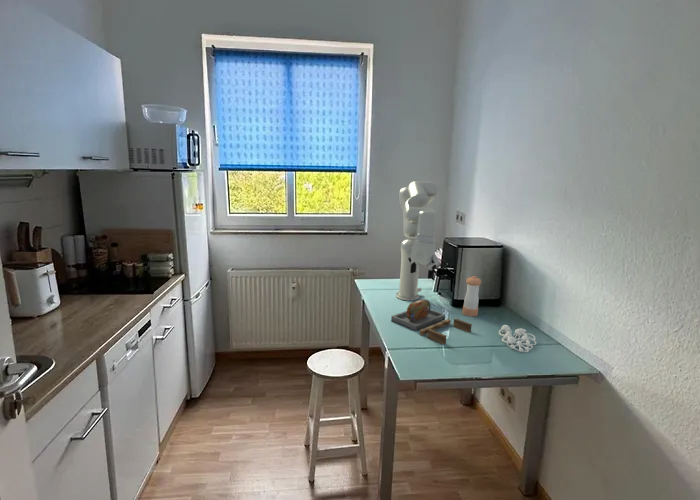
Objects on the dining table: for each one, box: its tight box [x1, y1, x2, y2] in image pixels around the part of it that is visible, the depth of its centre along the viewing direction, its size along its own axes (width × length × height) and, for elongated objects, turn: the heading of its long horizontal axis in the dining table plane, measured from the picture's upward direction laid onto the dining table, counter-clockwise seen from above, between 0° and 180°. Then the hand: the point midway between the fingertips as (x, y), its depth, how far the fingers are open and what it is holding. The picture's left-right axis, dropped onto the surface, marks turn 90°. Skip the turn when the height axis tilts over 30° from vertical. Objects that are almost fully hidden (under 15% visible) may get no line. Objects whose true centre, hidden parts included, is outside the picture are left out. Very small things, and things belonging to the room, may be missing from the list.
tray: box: [390, 308, 446, 332], centre depth 187 cm, size 22×14×2 cm, turn 134°
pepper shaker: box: [461, 275, 482, 317], centre depth 197 cm, size 7×7×19 cm
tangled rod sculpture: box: [498, 324, 537, 353], centre depth 168 cm, size 19×14×4 cm
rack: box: [419, 318, 473, 345], centre depth 174 cm, size 21×12×4 cm, turn 134°
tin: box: [406, 299, 431, 322], centre depth 186 cm, size 15×3×8 cm, turn 133°
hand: (421, 275), depth 184 cm, fingers open, 9 cm apart
